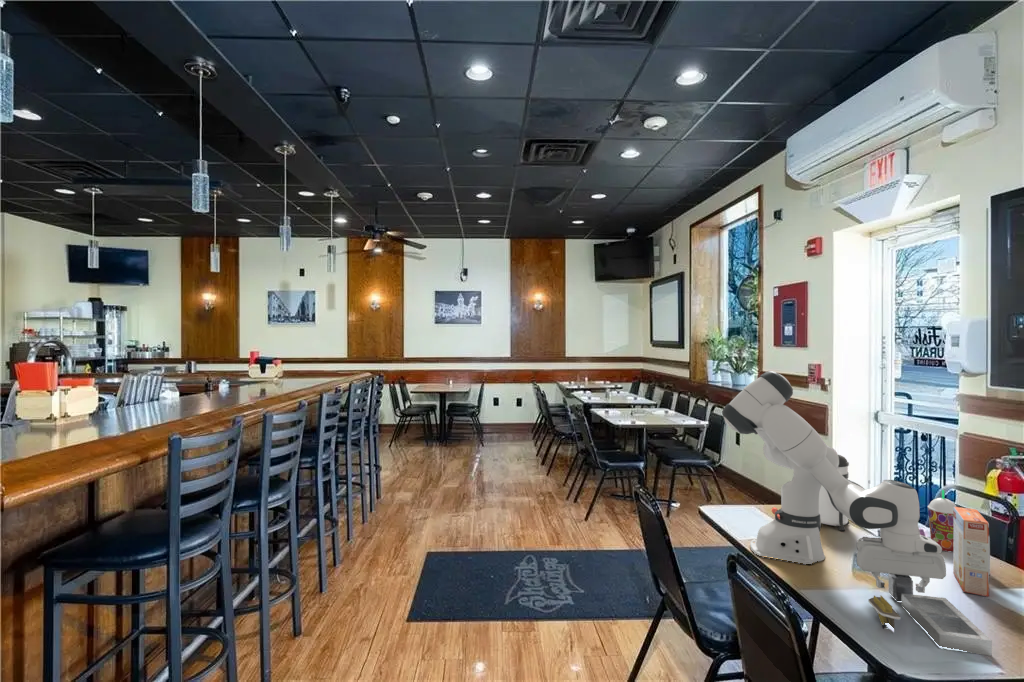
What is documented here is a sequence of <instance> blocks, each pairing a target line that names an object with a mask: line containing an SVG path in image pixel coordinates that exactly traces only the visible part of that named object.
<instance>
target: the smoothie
mask: <svg viewBox="0 0 1024 682" xmlns="http://www.w3.org/2000/svg"><path fill="white" fill-rule="evenodd" d="M954 507H957V505H956V504H955V503H954V502H953V501H951V499H948V498H946V497H945V489H941V497H936V498H934V499H933V500H931V501H930V503H929V504H928V505H927V513H928V523H929V535H930V539H932V540H934V541H935V542H936V543H938V544H939V545H940V546H941V547H942V552H948V551H951V552H954V522H953V508H954Z"/></svg>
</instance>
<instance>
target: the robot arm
mask: <svg viewBox="0 0 1024 682" xmlns="http://www.w3.org/2000/svg"><path fill="white" fill-rule="evenodd" d="M789 381H790V380H788V379H787V378H786V377H785V376H784V375H782V374H780V373H779V372H776V371H770V370H768V371H766V372H763V373H762V374H760V375H759V377H757V378H756V379H754V380H753V381H752V382H750V383H749V384H747V385H746V386H745V387H744V388H743V389H742V391H740V392H738V394H737V395H736V396H734V397H733V399H732V400H731V401H730V402H729V403H727V404H726V405H724V408H723V409H722V411H721V415H722V417H723V419H724V422H725V424H726V425H727V426H728V427H729V428H730V429H732V430H733V431H735V432H737V433H739V434H742V435H750V434H751V435H752V434H755V435H758V436H759V437H760V439H762V441H763V442H764V443H763V447H762V449H763V450H762V451H763V455H764V457H765V458H766V460H768V461H769V462H771V463H773V464H775V465H776V466H778V467H779V466H780V467H782V468H786V469H789V470H792V471H793V474H792V475H793V476H792V479H791V480H789V481H787V482H785V483H784V484H783V485H781V488H780V492H781V493H780V494H781V495H780V497H781V498H780V499H781V500H780V501H781V503H780V504H781V505H780V506H781V508H779V509H778V508H777V507H775V506H774V507H772V508H771V513H772V514H773V515H774V519H772V520H771V521H769V522H767V524H766V523H765V525H763V526H761V527H760V528H759V529H758V532H757V535H756V539H755V538H754V539H752V540H750V542H749V548H750V547H751V548H750V550H751V551H753V552H754V555H756V554H757V555H759V556H767V557H773V558H778V559H783V560H787V561H786V562H788V561H792V562H791V563H794V562H798V563H797V564H800V563H803V564H802V565H806V564H811V565H812V563H813V562H814V563H817V561H818V562H822V561H823V560H825V558H826V556H825V553H824V549H823V546H822V545H823V544H822V540H821V533H820V532H821V528H822V527H821V526H822V523H821V518H820V514H819V492H820V488H821V485H822V486H823V487H824V488H825V489H826V491H827V493H828V495H829V498H830V501H831V503H832V505H833V506H834V508H835V509H836V510H837V511H839V512H840V513H842V514H843V515H845V516H846V517H847V518H848V520H850V521H851V522H852V523H854V524H855V525H857V526H859V527H860V528H862V529H867V530H878V529H879V531H880V534H879V536H880V537H870V536H862V537H861V538H858V540H857V541H856V549H857V554H856V564H857V566H858V567H859V568H860V569H861V571H863V572H867V573H869V572H870V573H871V574H872V576H873V577H874V580H875V583H876V584H875V585H876V587H877V588H878V589H885V581H883V579H880V578H879V577H880V576H881V574H886V575H887V574H897V575H907V576H910V577H919V578H920V579H921V580H920V581H919V583H915V591H916V592H917V593H922V594H924V593H925V592H926V587H927V586H928V584H929V583H930V580H931V579H938V580H944V578H946V576H947V566H946V561H945V558H944V556H943V555H942V554H941V553H942V552H943V551H942V547H941V546H940V545H939V544H938V543H936V542H935V541H934V540H932V539H931V537H929V536H926V535H922V534H921V531H920V528H919V521H920V514H921V513H920V502H919V495H918V492H917V490H916V489H915V488H914V487H913V486H912V485H909V484H907V483H906V482H902V481H898V480H894V479H884V480H882V482H880V483H879V484H877V485H875V486H873V487H870V488H867V489H865V488H864V487H863V486H861V485H860V484H858V483H856V482H854V481H852V480H850V479H849V478H848V479H846V478H845V477H843V476H842V474H841V473H840V472H839V471H838V470H837V468H838V465H839V457H838V455H839V454H838V452H837V451H836V450H835V449H834V448H833V447H831V446H829V445H828V444H826V443H825V440H824V439H823V438H822V436H821V435H820V434H819V433H818V431H816V429H815V428H814V427H813V426H812V425H811V424H810V423H808V421H806V420H805V418H803V417H802V416H801V415H800V414H798V413H797V412H796V411H794V410H793V409H792V408H791V407H789V406H788V405H785V403H787V402H788V401H789V400H790V399H791V398H792V396H793V395H794V394H793V392H794V389H793V387H792V386H791V383H790V382H789ZM753 542H755V543H753ZM753 552H752V553H753ZM757 555H756V556H757ZM759 556H758V557H759ZM814 563H813V564H814Z"/></svg>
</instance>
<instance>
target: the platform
mask: <svg viewBox="0 0 1024 682" xmlns="http://www.w3.org/2000/svg"><path fill="white" fill-rule="evenodd" d="M867 602H868V604H870V605H871V606H872V608H874V610H875V611H876V612H877V616H879V617H878V618H879V621H880V624H881V623H882V624H883V625H884V623H889V624H890V625H891V626H892V627H893V628H894V629H895V620H901V615H900V614H898V612H897V611H896V610H895V609H894V608H893V606H892V605H891V604H890V602H888V600H887V599H885V598H884V596H882V595H879V596H876V595H873V596H872V597H871V598H868V601H867ZM882 624H881V625H882Z"/></svg>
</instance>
